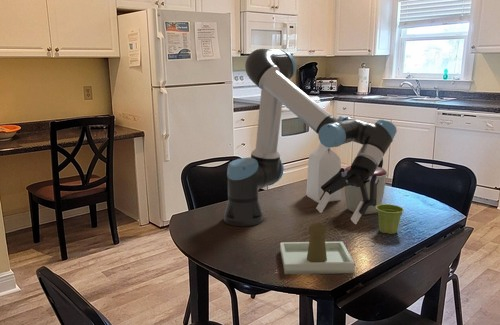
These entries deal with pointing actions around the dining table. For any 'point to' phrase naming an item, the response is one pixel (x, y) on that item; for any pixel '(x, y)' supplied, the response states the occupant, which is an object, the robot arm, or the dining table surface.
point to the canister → (355, 195)
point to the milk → (322, 172)
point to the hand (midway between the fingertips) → (335, 216)
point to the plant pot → (389, 217)
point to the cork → (317, 243)
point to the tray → (298, 263)
